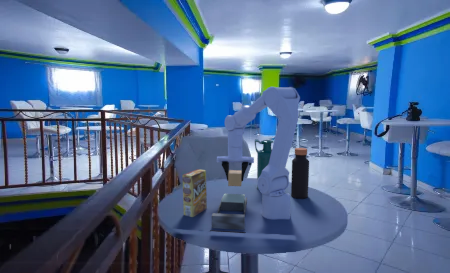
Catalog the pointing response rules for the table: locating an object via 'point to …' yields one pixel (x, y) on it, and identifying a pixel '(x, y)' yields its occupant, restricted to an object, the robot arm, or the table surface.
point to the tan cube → (234, 178)
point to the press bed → (228, 220)
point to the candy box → (194, 192)
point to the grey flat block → (233, 202)
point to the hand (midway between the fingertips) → (235, 180)
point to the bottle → (300, 174)
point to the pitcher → (263, 156)
